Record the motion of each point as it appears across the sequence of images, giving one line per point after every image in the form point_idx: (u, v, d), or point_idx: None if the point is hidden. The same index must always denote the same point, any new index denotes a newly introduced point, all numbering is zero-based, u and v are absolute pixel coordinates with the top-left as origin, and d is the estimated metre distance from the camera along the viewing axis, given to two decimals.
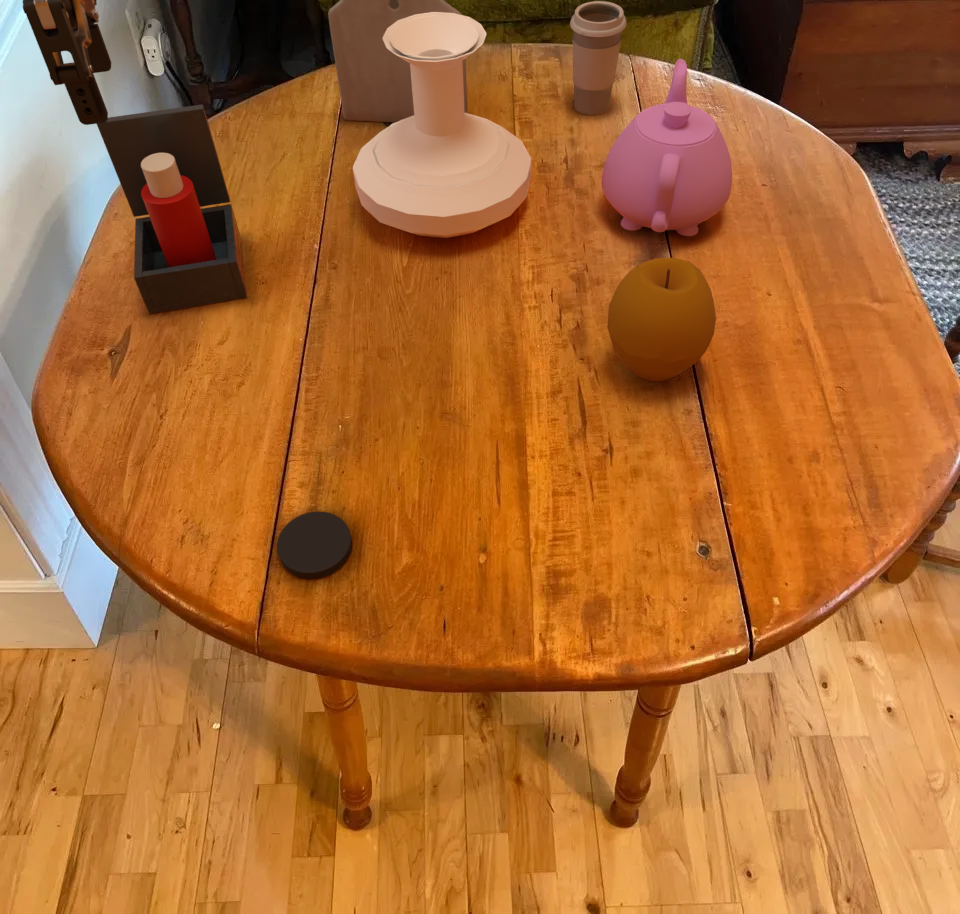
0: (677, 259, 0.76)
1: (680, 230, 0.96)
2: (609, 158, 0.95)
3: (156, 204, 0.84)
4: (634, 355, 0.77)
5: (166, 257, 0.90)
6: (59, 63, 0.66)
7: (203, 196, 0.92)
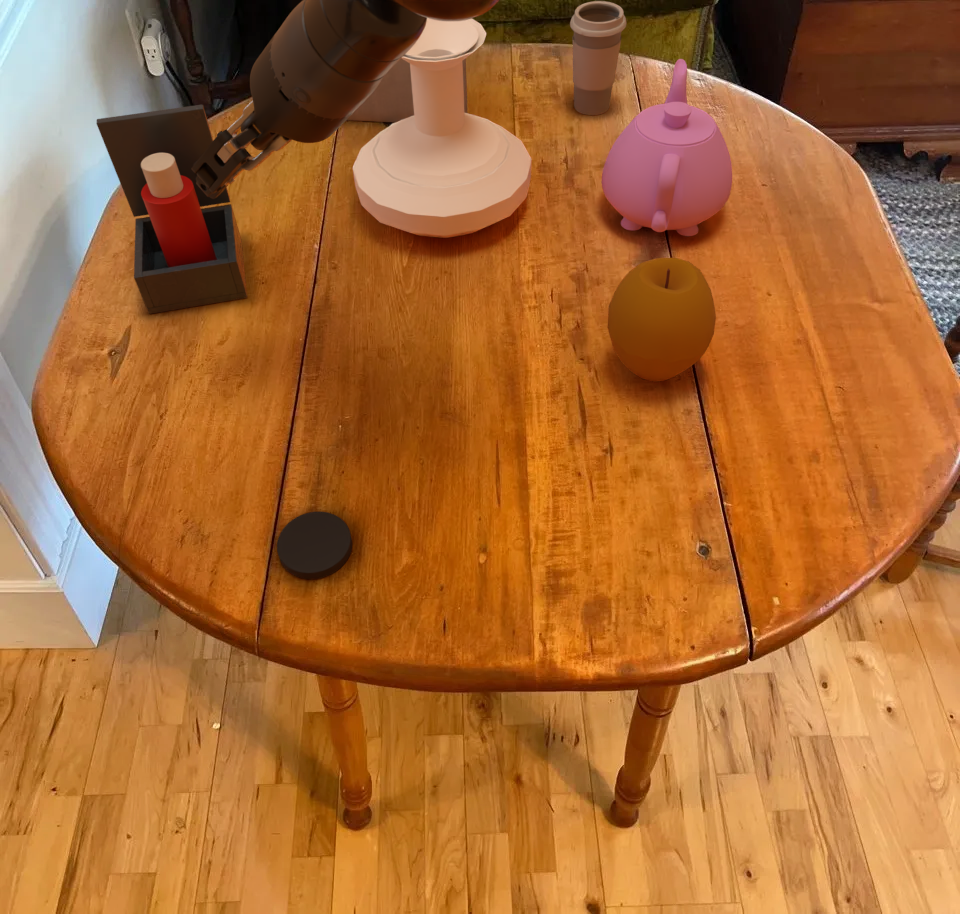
0: (677, 259, 0.76)
1: (680, 230, 0.96)
2: (609, 158, 0.95)
3: (156, 204, 0.84)
4: (634, 355, 0.77)
5: (166, 257, 0.90)
6: None
7: (203, 196, 0.92)
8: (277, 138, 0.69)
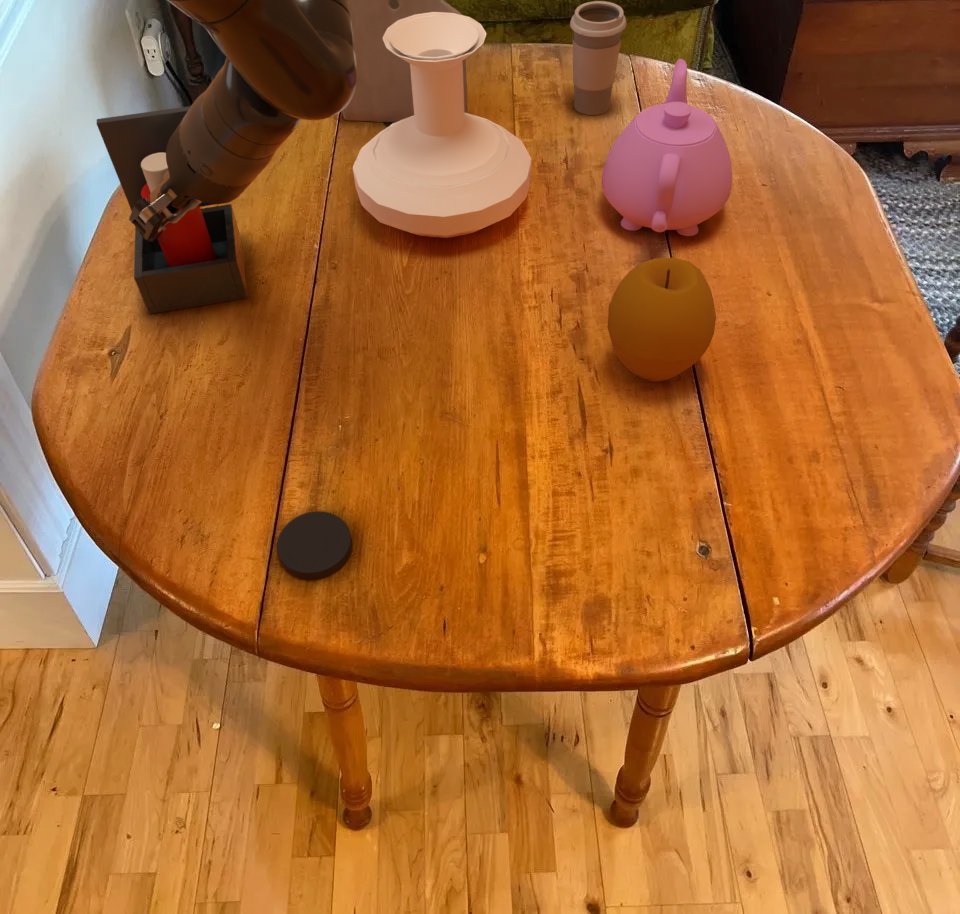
0: (677, 259, 0.76)
1: (680, 230, 0.96)
2: (609, 158, 0.95)
3: None
4: (634, 355, 0.77)
5: (166, 257, 0.90)
6: None
7: None
8: (192, 199, 0.81)
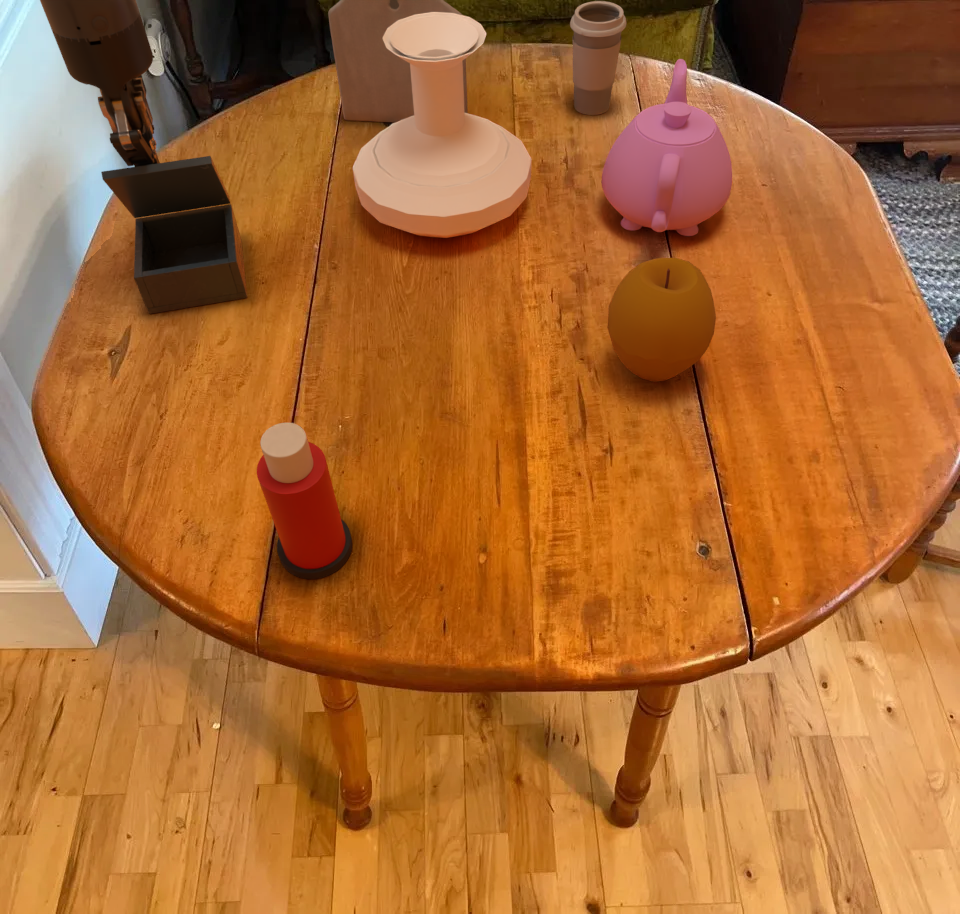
0: (677, 259, 0.76)
1: (680, 230, 0.96)
2: (609, 158, 0.95)
3: (259, 482, 0.62)
4: (634, 355, 0.77)
5: None
6: None
7: (204, 203, 0.92)
8: (136, 104, 0.80)
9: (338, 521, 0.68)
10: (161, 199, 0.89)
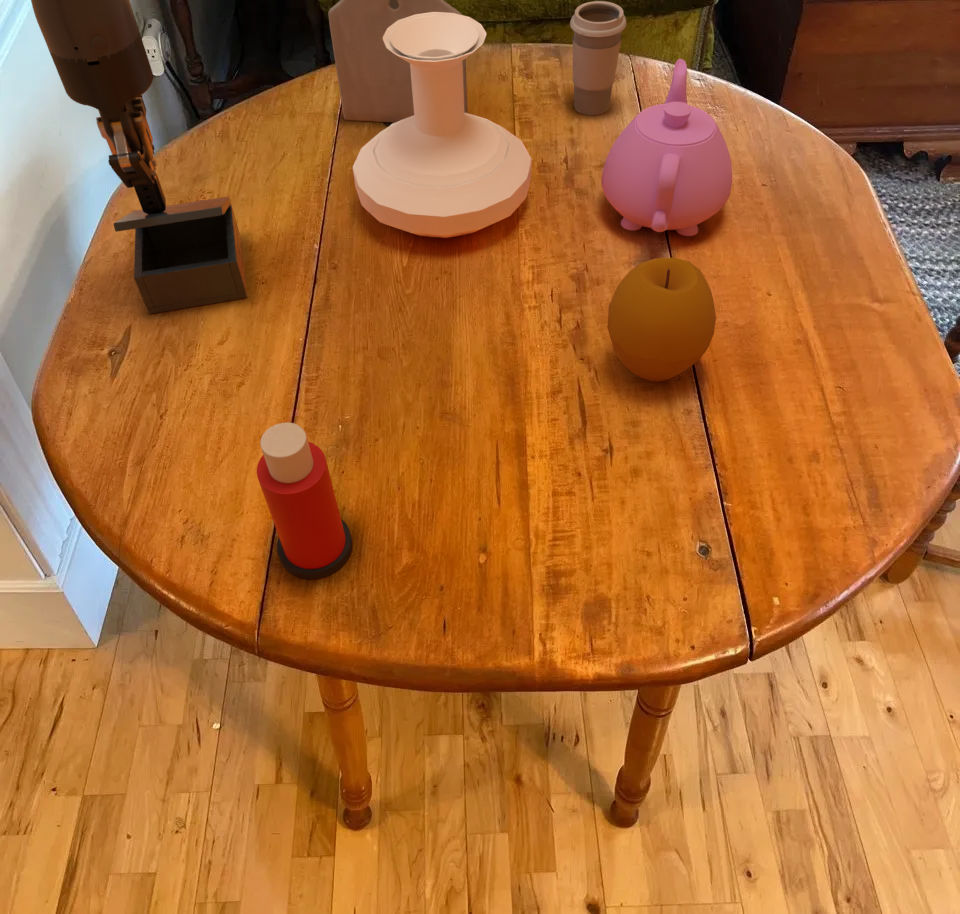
0: (677, 259, 0.76)
1: (680, 230, 0.96)
2: (609, 158, 0.95)
3: (259, 482, 0.62)
4: (634, 355, 0.77)
5: None
6: None
7: None
8: (136, 125, 0.78)
9: (338, 521, 0.68)
10: None
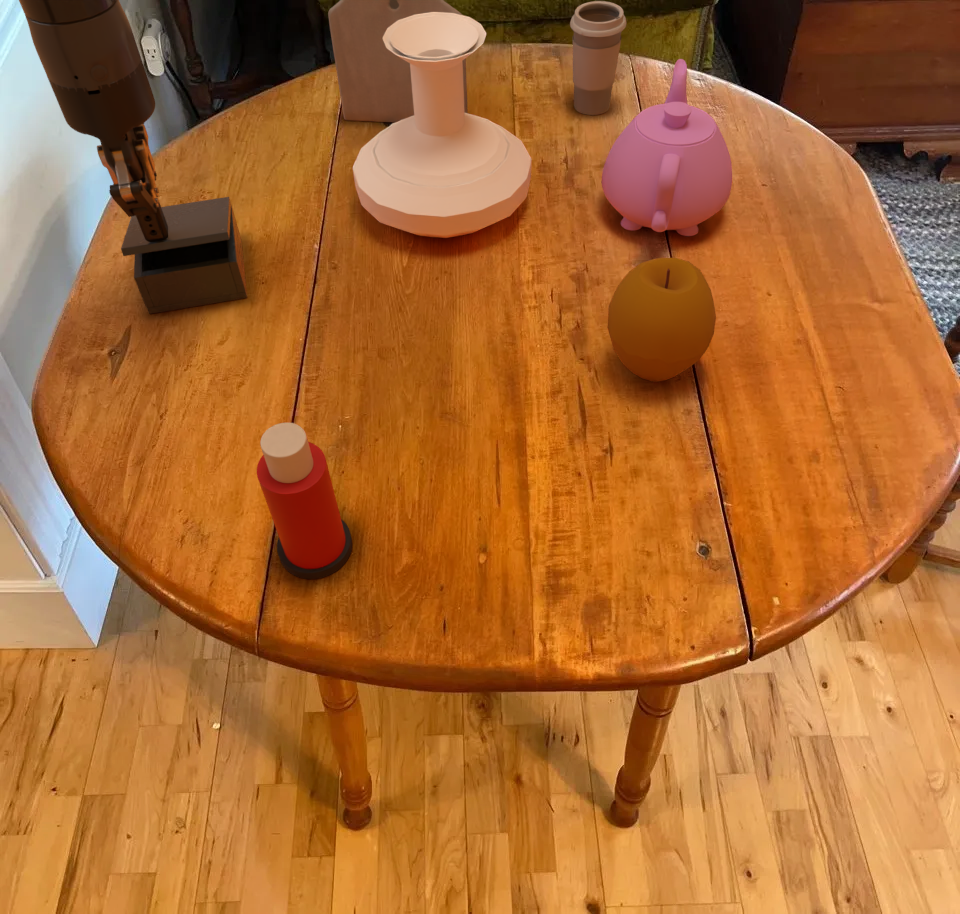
0: (677, 259, 0.76)
1: (680, 230, 0.96)
2: (609, 158, 0.95)
3: (259, 482, 0.62)
4: (634, 355, 0.77)
5: None
6: None
7: None
8: (138, 153, 0.76)
9: (338, 521, 0.68)
10: None
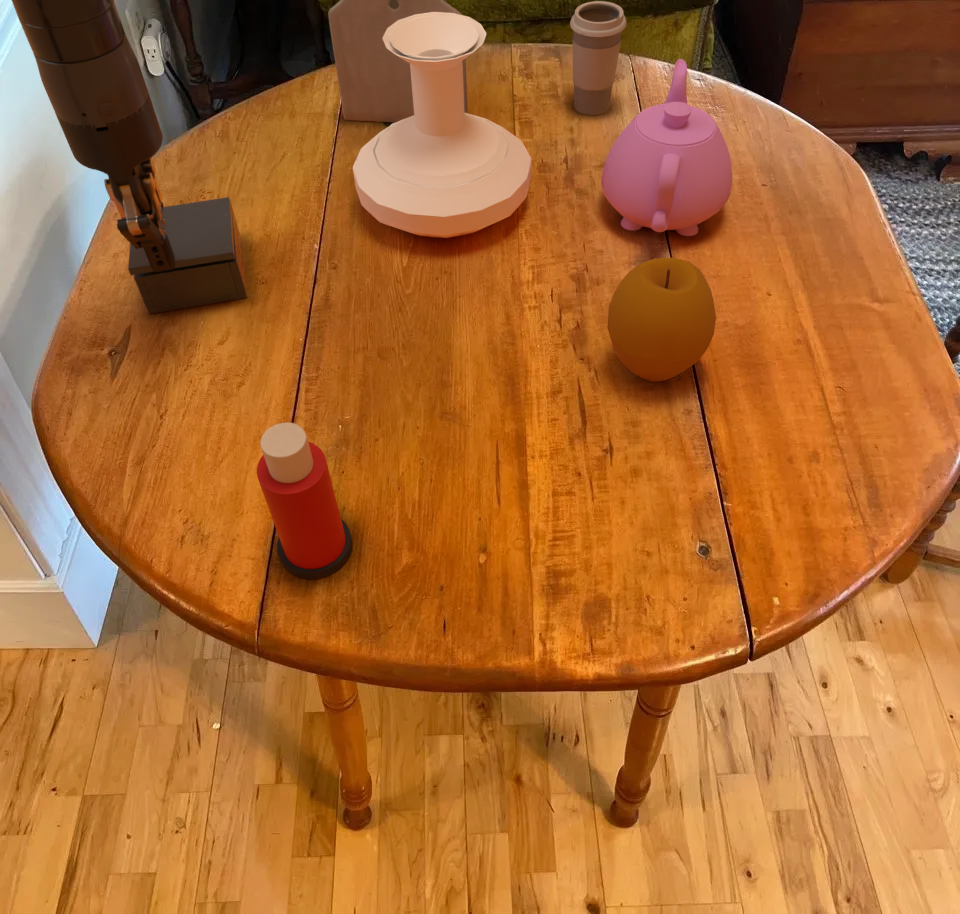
0: (677, 259, 0.76)
1: (680, 230, 0.96)
2: (609, 158, 0.95)
3: (259, 482, 0.62)
4: (634, 355, 0.77)
5: None
6: None
7: None
8: (145, 187, 0.76)
9: (338, 521, 0.68)
10: None
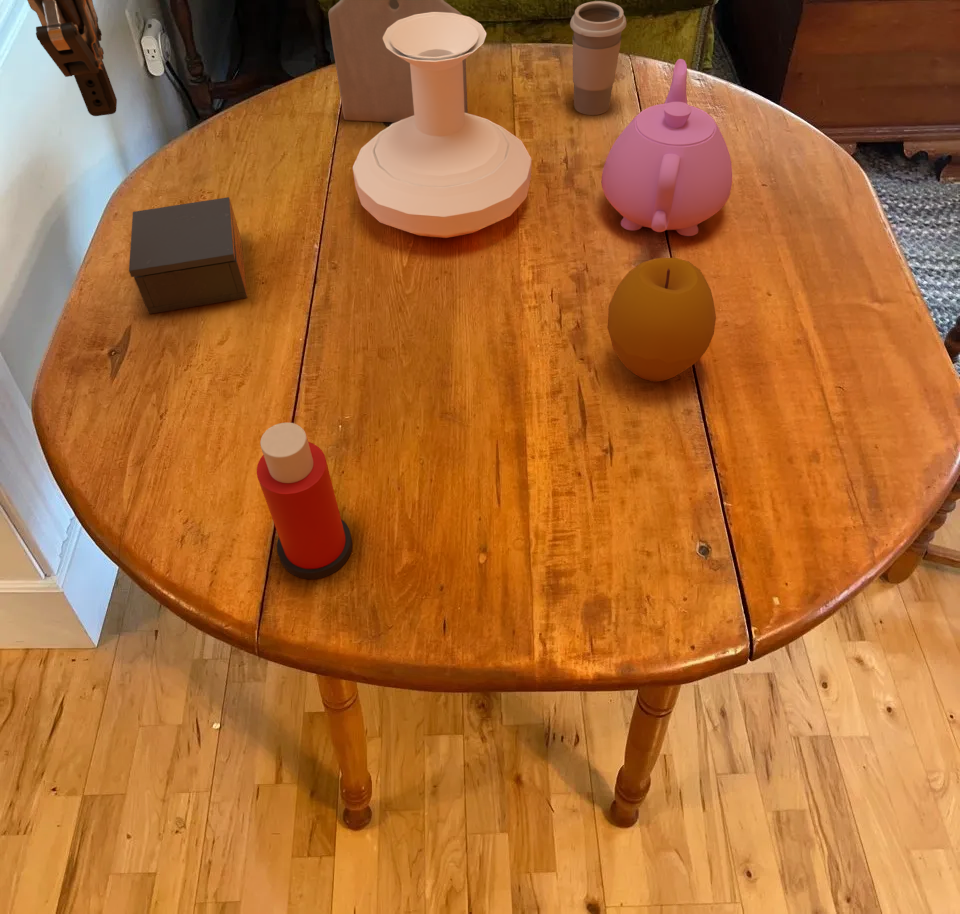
0: (677, 259, 0.76)
1: (680, 230, 0.96)
2: (609, 158, 0.95)
3: (259, 482, 0.62)
4: (634, 355, 0.77)
5: None
6: None
7: None
8: None
9: (338, 521, 0.68)
10: None
